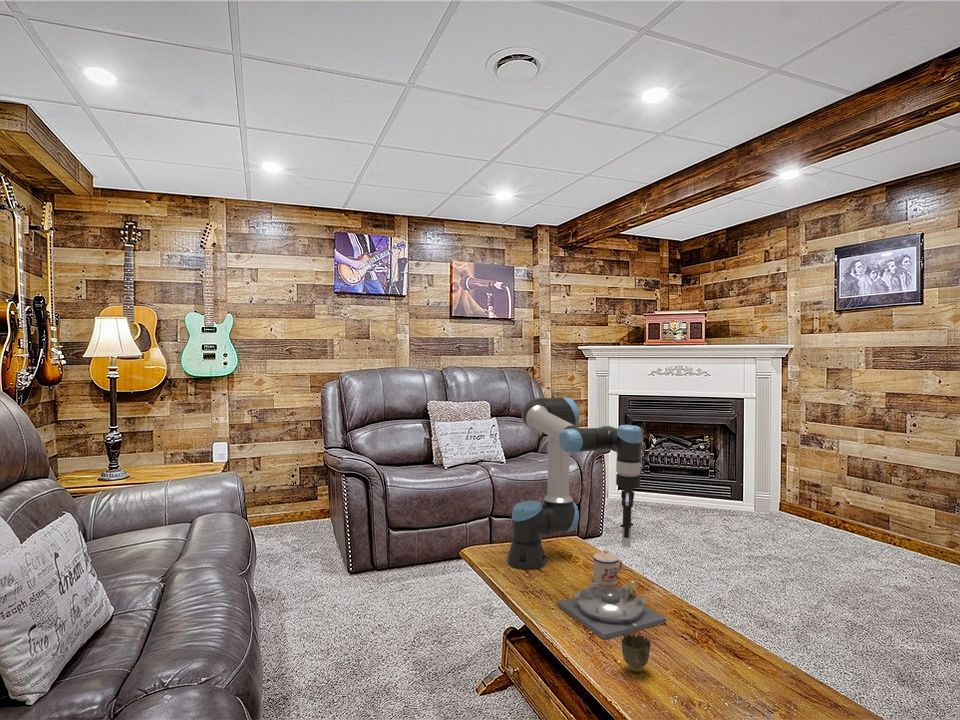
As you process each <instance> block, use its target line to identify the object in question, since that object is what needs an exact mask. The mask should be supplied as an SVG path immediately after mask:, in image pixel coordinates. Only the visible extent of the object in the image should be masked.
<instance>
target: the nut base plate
mask: <svg viewBox="0 0 960 720" xmlns="http://www.w3.org/2000/svg"><path fill="white" fill-rule="evenodd" d="M556 606H557V607H558V608H560V609H561V610H562V611H563V612H565V613H567V614H568V615H569V616H571V617H572V618H573V619H575V621H577V622H579V623H580V624H581V625H583V627H586V628H587V629H588V630H590V631H591V632H592V633H594V634H595V635H596V636H597V637H599V638H601V639H602V640H604V641H605V640H609V639H612V638H617V637H619V636H624V635H627V634H628V633H629V634H631V633H634V631H635V632H638V630H639V631H641V629H643V630H646V629H650V628H653V627H652V626H654V627H656V626H655V625H657V626H659V625H658V624H661V623H665V622H666V623H667V618H666V616H664V615H661V614H660V613H658V612H656V611H655V610H653V609H652V608H649V607H648V606H646V605H645V604H643V615H642V617H641V618H640V619H639V620H637V621H634V622H631V623H625V624H612V623H605V622H600V621H597V620H594V619H591V618H589V617H587V616H586V615H584V614H583V613H582V612H581V611H580V610H579V608H578V598H577V597H575V596H574V597H572V598H567V599H562V600H558V601H556ZM666 623H665V624H666ZM661 625H662V624H661ZM649 627H650V628H649ZM645 628H646V629H645ZM630 632H631V633H630ZM623 634H624V635H623ZM616 636H617V637H616Z"/></svg>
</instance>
